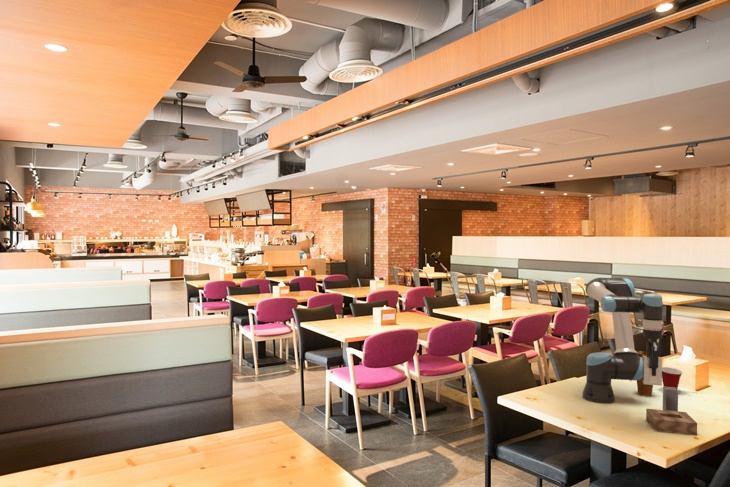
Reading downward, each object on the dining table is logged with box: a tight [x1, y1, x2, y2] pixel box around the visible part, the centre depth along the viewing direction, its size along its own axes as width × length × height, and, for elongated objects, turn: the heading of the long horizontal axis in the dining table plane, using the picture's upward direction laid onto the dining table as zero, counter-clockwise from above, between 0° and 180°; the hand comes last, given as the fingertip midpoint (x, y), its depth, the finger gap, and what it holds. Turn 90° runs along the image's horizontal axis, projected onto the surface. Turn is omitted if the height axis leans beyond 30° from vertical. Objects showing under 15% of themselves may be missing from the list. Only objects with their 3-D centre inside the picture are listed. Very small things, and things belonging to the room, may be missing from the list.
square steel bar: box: [662, 385, 679, 411], centre depth 237 cm, size 5×5×12 cm
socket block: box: [645, 408, 698, 436], centre depth 220 cm, size 16×14×5 cm
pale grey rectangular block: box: [643, 356, 663, 387], centre depth 223 cm, size 7×3×12 cm, turn 71°
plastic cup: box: [662, 366, 684, 390], centre depth 271 cm, size 11×11×12 cm
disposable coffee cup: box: [636, 376, 654, 397], centre depth 266 cm, size 10×10×12 cm
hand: (652, 381), depth 223 cm, fingers closed on pale grey rectangular block, 3 cm apart
